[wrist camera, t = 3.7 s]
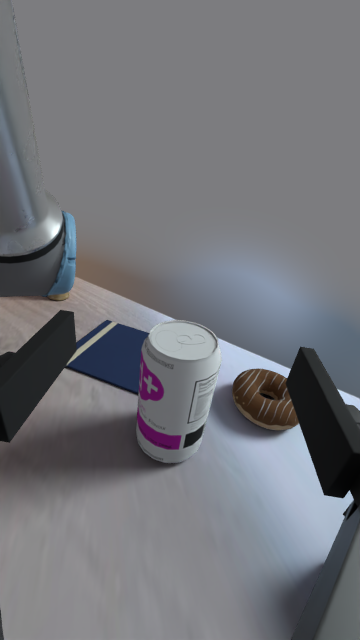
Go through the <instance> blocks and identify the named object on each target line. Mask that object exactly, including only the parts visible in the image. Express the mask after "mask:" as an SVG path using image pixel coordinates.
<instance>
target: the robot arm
mask: <svg viewBox="0 0 360 640" xmlns="http://www.w3.org/2000/svg"><path fill="white" fill-rule="evenodd" d="M75 259H76V228H75V221H74V218H73V216H72V215H71V214H69V213H66V212H64V211H62V210H61V209H60V206H59V203H58V202H57V200H56V199H55V198H54V197H53V196H52V195H51V194H50V193H49V192H48V191H47V190H45V189H44V183H43V178H42V172H41V166H40V160H39V154H38V149H37V143H36V137H35V131H34V125H33V120H32V115H31V109H30V102H29V96H28V91H27V85H26V80H25V73H24V67H23V62H22V56H21V50H20V44H19V39H18V33H17V27H16V21H15V15H14V9H13V4H12V0H0V297H8V296H42V297H47V296H49V295H58V294H65V293H67V292H69V291H70V290H71V288H72V287H73V284H74V278H75V268H76V262H75ZM76 351H77V347H76V335H75V323H74V312H70V311H64V310H60V311H59V312H58V313H57V314H56V315H55V316H54V317H53V318H52V319H51V320H50V321H49V322H48V323H47V324H45V325H44V326H43V327H42V328H41V329H40V330H39V331H38V332H37V333H36V334H35V335H34V336H33V337H32V338H31V339H30V340H29V341H28V342H27V343H25V344H24V345H23V346H22V347H21V348H20V349H19V350H18V351H17V352H16V353H14V352H7V353H5V354H3V355H1V356H0V441H3V442H9V443H10V441H11V440H12V438H13V437H14V436H15V434H16V433H17V432H18V430H19V429H20V427H21V426H22V425H23V423H24V422H25V421H26V419H27V418H28V417H29V415H30V414H31V412H32V411H33V410H34V408H35V407H36V406H37V404H38V403H39V401H40V400H41V399H42V397H43V396H44V395H45V393H46V392H47V391H48V389H49V388H50V386H51V385H52V384H53V382H54V381H55V380H56V378H57V377H58V375H59V374H60V373H61V371H62V370H63V369H64V367H65V366H66V365H67V363H68V362H69V360H70V359H71V358H72V356H73V355H74V354H75V352H76ZM285 384H286V387H287V389H288V392H289V395H290V398H291V401H292V404H293V407H294V410H295V412H296V415H297V418H298V421H299V424H300V427H301V430H302V433H303V435H304V438H305V441H306V444H307V447H308V450H309V453H310V456H311V458H312V461H313V464H314V467H315V470H316V473H317V476H318V479H319V482H320V484H321V487H322V490H323V493H324V495H326V496H332V497H338V498H344V497H345V495H346V494H347V493H348V491H349V490H350V492H351V494H352V496H353V499H354V501H353V502H352V503H351V504H350V506H349V507H348V508H347V509H346V511H345V512H344V513H343V515H344V516H345V518H344V520H343V523H342V525H341V527H340V530H339V532H338V534H337V536H336V539H335V541H334V543H333V545H332V548H331V550H330V552H329V554H328V557H327V559H326V561H325V564H324V566H323V568H322V570H321V573H320V575H319V577H318V579H317V582H316V584H315V586H314V589H313V591H312V593H311V595H310V598H309V600H308V602H307V604H306V607H305V609H304V611H303V614H302V616H301V618H300V620H299V623H298V625H297V627H296V629H295V632H294V634H293V636H292V639H291V640H360V411H359V410H358V409H357V408H356V407H355V406H353V405H347V404H345V403H344V401H343V399H342V397H341V396H340V394H339V392H338V390H337V389H336V387H335V385H334V383H333V382H332V380H331V378H330V376H329V375H328V373H327V371H326V369H325V368H324V366H323V364H322V362H321V361H320V359H319V357H318V355H317V354H316V352H315V350H314V349H311V348H305V347H300V349H299V351H298V354H297V356H296V359H295V361H294V364H293V366H292V368H291V371H290V373H289V376H288V378H287V381H286V383H285ZM0 640H4V636H3V630H2V620H1V610H0Z"/></svg>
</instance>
